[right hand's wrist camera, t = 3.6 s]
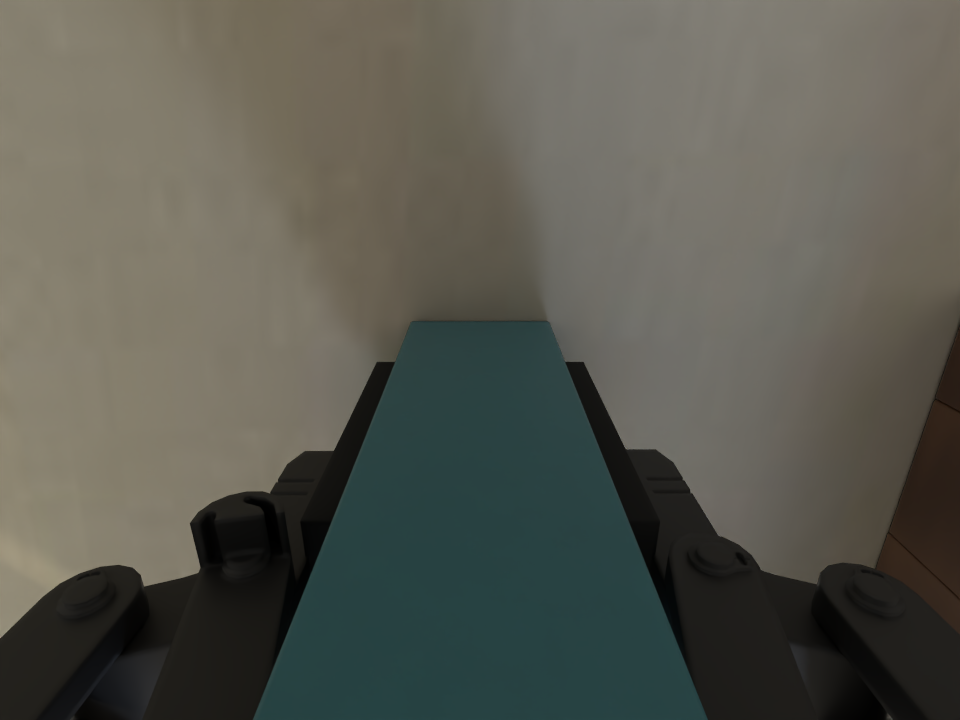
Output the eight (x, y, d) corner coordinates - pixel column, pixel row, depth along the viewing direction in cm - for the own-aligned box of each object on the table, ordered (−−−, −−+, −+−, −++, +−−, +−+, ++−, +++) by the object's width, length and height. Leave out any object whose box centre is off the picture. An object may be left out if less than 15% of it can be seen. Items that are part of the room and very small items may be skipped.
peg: (410, 320, 15) (25, 1268, 2) (549, 320, 15) (935, 1271, 2) (416, 442, 17) (199, 1442, 4) (543, 442, 17) (760, 1442, 4)
